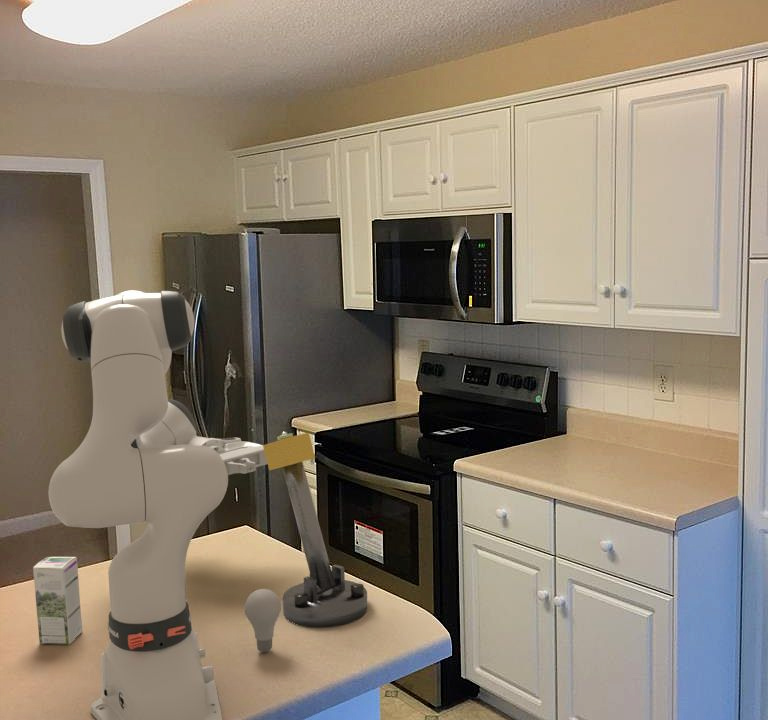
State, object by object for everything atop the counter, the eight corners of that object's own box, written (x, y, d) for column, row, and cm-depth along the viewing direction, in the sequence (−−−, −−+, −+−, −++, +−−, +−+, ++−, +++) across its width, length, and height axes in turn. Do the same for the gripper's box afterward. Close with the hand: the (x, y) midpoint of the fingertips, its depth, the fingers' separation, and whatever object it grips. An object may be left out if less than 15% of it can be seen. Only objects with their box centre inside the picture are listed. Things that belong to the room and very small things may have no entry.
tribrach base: (384, 606, 166) (383, 568, 165) (327, 635, 154) (325, 595, 153) (324, 587, 176) (322, 552, 175) (265, 613, 164) (263, 576, 163)
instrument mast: (351, 584, 164) (308, 425, 167) (329, 594, 160) (285, 430, 162) (322, 588, 169) (281, 433, 172) (300, 597, 165) (259, 438, 167)
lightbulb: (272, 662, 144) (269, 599, 143) (240, 657, 146) (237, 594, 145) (289, 646, 150) (286, 585, 149) (257, 642, 152) (254, 581, 151)
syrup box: (83, 631, 159) (78, 555, 157) (69, 646, 153) (63, 566, 151) (53, 631, 159) (47, 554, 157) (38, 645, 153) (31, 566, 152)
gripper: (164, 454, 175) (208, 463, 166) (242, 435, 191) (286, 443, 182) (166, 484, 176) (210, 495, 167) (243, 463, 192) (287, 472, 183)
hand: (250, 468), depth 175 cm, fingers closed
